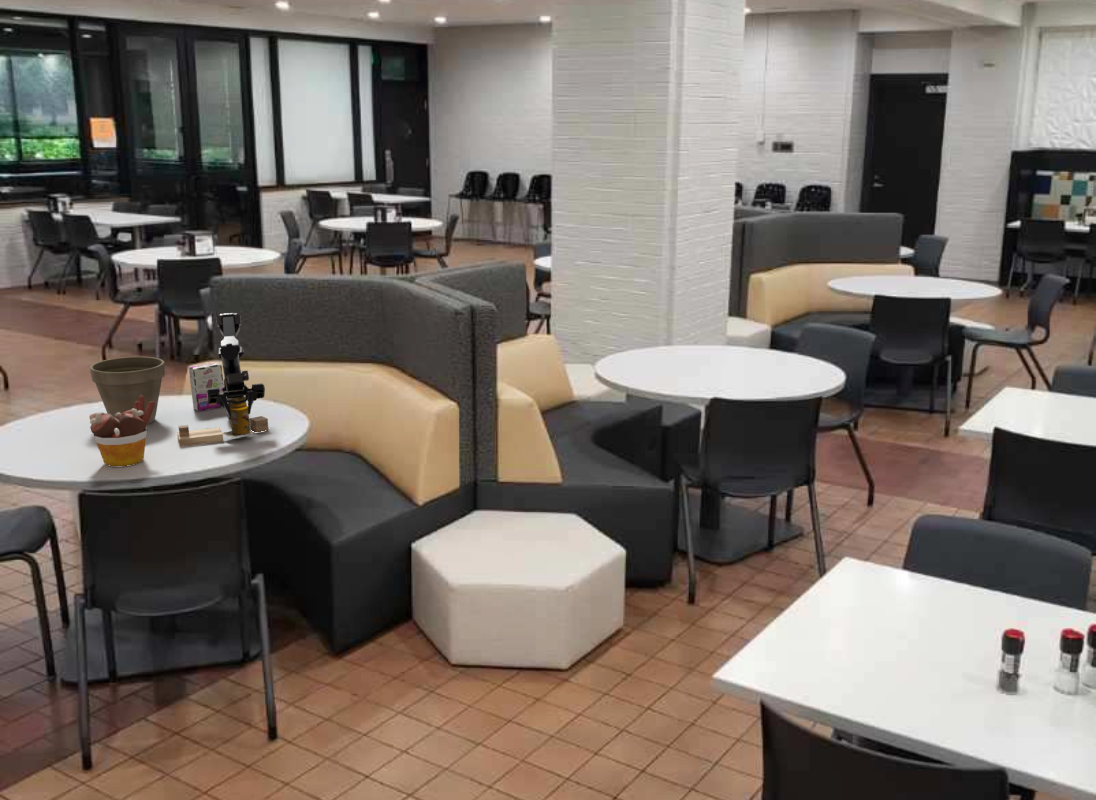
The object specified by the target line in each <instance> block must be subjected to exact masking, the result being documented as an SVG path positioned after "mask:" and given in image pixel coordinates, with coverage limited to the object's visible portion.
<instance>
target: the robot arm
mask: <svg viewBox="0 0 1096 800" xmlns="http://www.w3.org/2000/svg"><path fill="white" fill-rule="evenodd" d="M216 323H217V327H218V328H219V332H220V334H221V335H222V337H223V339H221V341H220V347H218V357H219V358H218V359H221V363H222V364H221V366H222V373H223V376H224V377H223V384H224V386H222V390H221V391H220V390H219V388H213V389H208V390H207V400H208V403H209V404H212V403H217V405H220V406H221V407H220V408H223V410H224V411H225V413H226V417H227V418H228V420H231V418H230V416H231V414H230V407H231V406H230V400H231V399H232V398H237V397H243V398H246V402H247V406H248V412H249V415H251V411H252V406H253V404H254V402H255V401H257V399H263V398H265V392H266V389H265V384H264V383H263V382H261V383H254V384H253V383H252V385H251V388H249V387H248V386H247V383H246V384H245V382H246V381H250V375H249V372H248V371H249V370H241V365H240V360H241V357H243V355H245V353H244V352H245V351H244V349H243V347H242V346H241V345H240V341H239V339H237V337H238V335H239V333H240V332H241V331H240V330H241V329H240V326H242V319H241V314H239V313H237V312H226V313H225V312H224V313H220V314H219V315H216Z"/></svg>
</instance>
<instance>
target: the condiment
mask: <svg viewBox="0 0 1096 800" xmlns="http://www.w3.org/2000/svg"><path fill="white" fill-rule="evenodd" d="M230 406H231V407H230V414H231V416H230V418H231V419H230V425H231V430H230V431H224V432H222V434H223V436H224V435H225V436H227V437H228V438H231V439H234V438H238V437H242V436H243V437H244V436H247V435H252V434H256V433H255V432H252V431H251V429H250V414H249V412H248V402H247V401H246V398H243V397H237V398H232V399H231V400H230Z"/></svg>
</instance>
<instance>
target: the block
mask: <svg viewBox="0 0 1096 800" xmlns="http://www.w3.org/2000/svg"><path fill="white" fill-rule="evenodd" d="M268 420H269V418H268V417H265V416H262V415H261V416H256V417H249V422H250V431H251V430H252V431H254V432H261V431H265V430H269V421H268ZM265 432H266V431H265ZM261 433H262V432H261Z"/></svg>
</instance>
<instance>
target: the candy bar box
mask: <svg viewBox="0 0 1096 800" xmlns="http://www.w3.org/2000/svg"><path fill="white" fill-rule="evenodd" d="M188 374H189V383H190V389H191V390H190V391H191V399H192V406H193V410H194V409H195V411H196V410H197V411H196V412H203V411H207V410H208V409H209V410H213V408H214V409H218V407H219V408H222V407H221V406H220V405H217V403H212V404H209V403H208V400H207V390H208V389H213V388H219V390H220V391H221V390H222V386H224V377H223V376H224V374H223V366H222V364H221V363H219V362H213V363H212V362H211V363H205V364H200V365H195V366H194V365H193V366H189V367H188Z"/></svg>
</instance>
